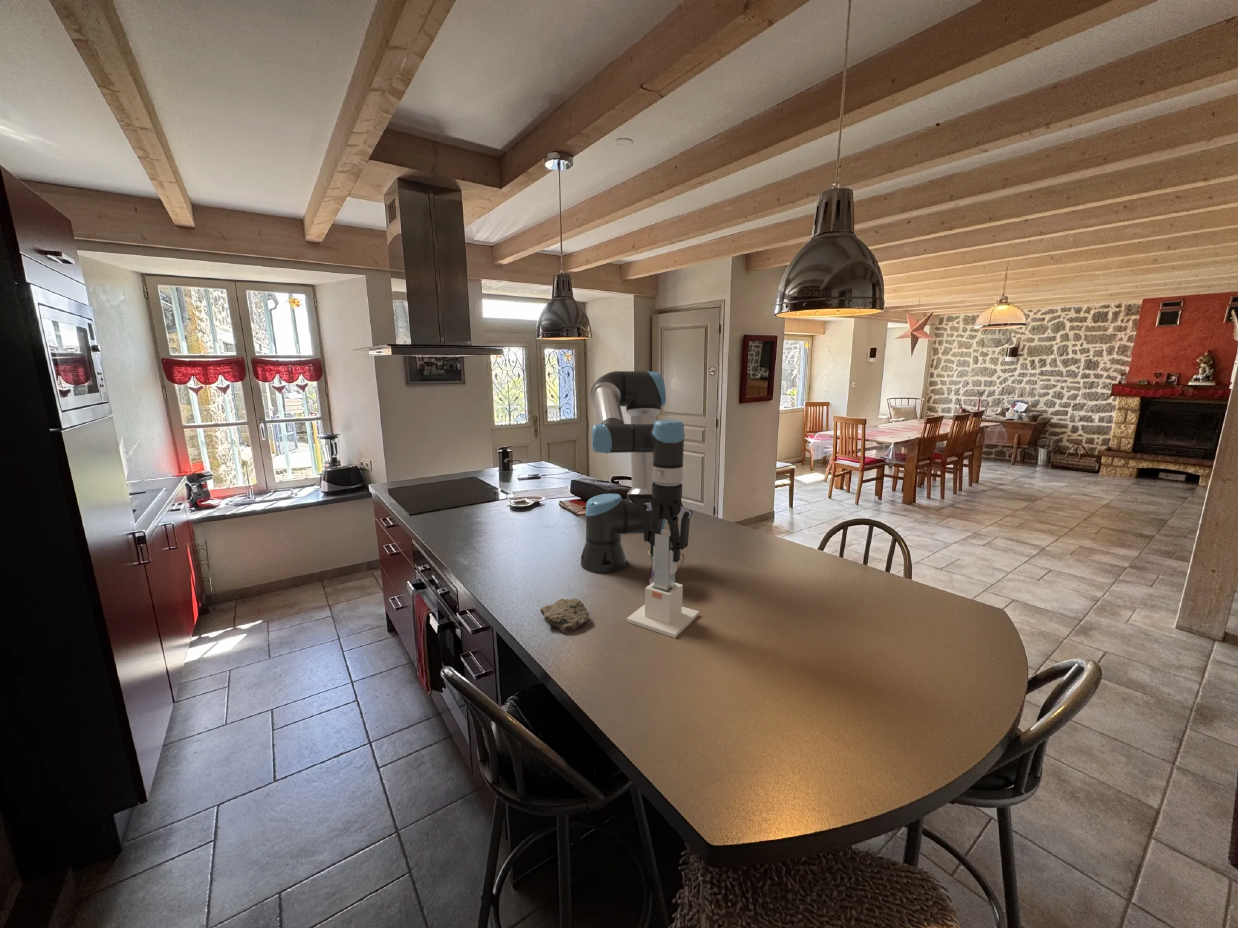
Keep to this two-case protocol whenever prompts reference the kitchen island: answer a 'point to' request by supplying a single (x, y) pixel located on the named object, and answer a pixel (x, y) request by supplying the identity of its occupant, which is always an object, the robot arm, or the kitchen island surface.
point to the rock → (566, 614)
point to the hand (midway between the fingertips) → (664, 570)
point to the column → (663, 562)
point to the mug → (653, 570)
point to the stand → (663, 612)
